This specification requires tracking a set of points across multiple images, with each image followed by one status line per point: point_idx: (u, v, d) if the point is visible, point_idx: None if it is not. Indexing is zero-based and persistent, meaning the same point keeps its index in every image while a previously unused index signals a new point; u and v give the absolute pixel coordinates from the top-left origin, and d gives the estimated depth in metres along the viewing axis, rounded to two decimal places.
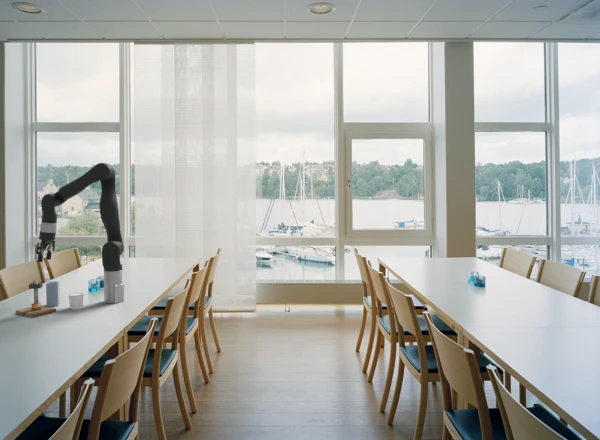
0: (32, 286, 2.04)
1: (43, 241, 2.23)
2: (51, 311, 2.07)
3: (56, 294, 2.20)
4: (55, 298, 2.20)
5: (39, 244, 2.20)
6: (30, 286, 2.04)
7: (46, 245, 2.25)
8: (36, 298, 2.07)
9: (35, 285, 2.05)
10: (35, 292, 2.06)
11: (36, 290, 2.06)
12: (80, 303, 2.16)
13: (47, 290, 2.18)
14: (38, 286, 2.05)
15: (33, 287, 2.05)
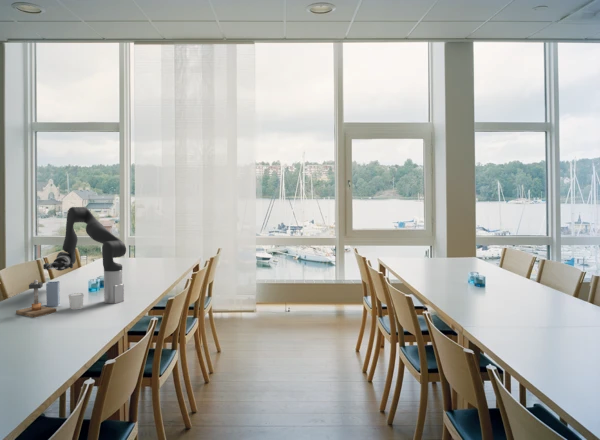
0: (32, 286, 2.04)
1: None
2: (51, 311, 2.07)
3: (56, 294, 2.20)
4: (55, 298, 2.20)
5: None
6: (30, 286, 2.04)
7: None
8: (36, 298, 2.07)
9: (35, 285, 2.05)
10: (35, 292, 2.06)
11: (36, 290, 2.06)
12: (80, 303, 2.16)
13: (47, 290, 2.18)
14: (38, 286, 2.05)
15: (33, 287, 2.05)
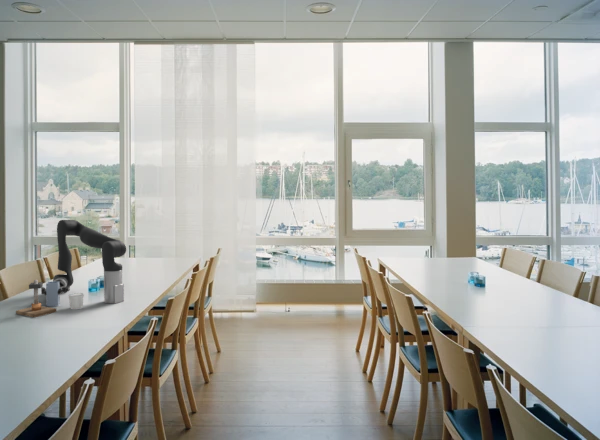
0: (32, 286, 2.04)
1: None
2: (51, 311, 2.07)
3: (56, 294, 2.20)
4: (55, 298, 2.20)
5: None
6: (30, 286, 2.04)
7: None
8: (36, 298, 2.07)
9: (35, 285, 2.05)
10: (35, 292, 2.06)
11: (36, 290, 2.06)
12: (80, 303, 2.16)
13: (47, 290, 2.18)
14: (38, 286, 2.05)
15: (33, 287, 2.05)
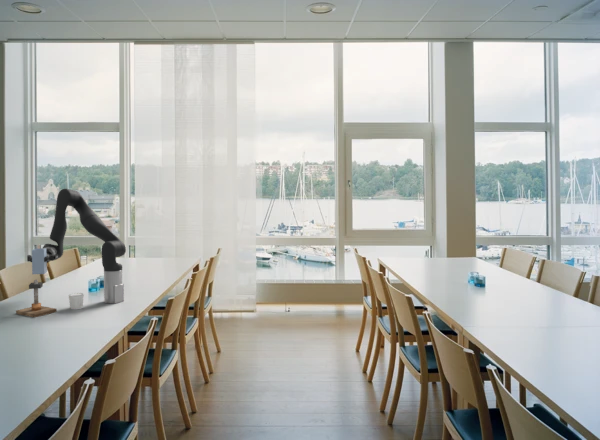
0: (32, 286, 2.04)
1: None
2: (51, 311, 2.07)
3: (42, 261, 2.08)
4: (41, 265, 2.08)
5: None
6: (30, 286, 2.04)
7: None
8: (36, 298, 2.07)
9: (35, 285, 2.05)
10: (35, 292, 2.06)
11: (36, 290, 2.06)
12: (80, 303, 2.16)
13: (33, 257, 2.07)
14: (38, 286, 2.05)
15: (33, 287, 2.05)
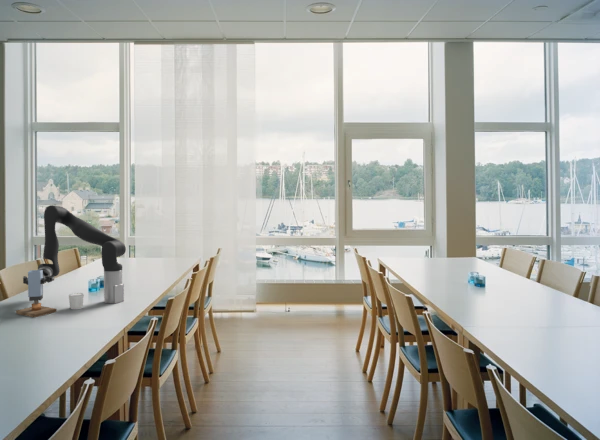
0: (32, 298, 2.05)
1: None
2: (51, 311, 2.07)
3: (39, 283, 2.05)
4: (38, 288, 2.05)
5: None
6: (30, 298, 2.04)
7: None
8: None
9: (36, 297, 2.05)
10: None
11: None
12: (80, 303, 2.16)
13: (29, 279, 2.04)
14: (38, 298, 2.06)
15: (34, 299, 2.05)
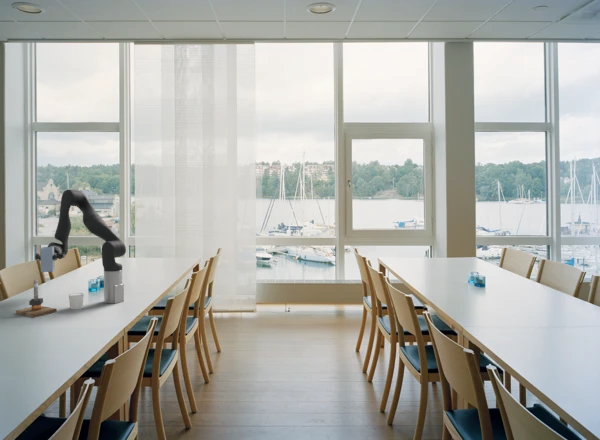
0: (32, 302, 2.05)
1: None
2: (51, 311, 2.07)
3: (51, 259, 2.14)
4: (50, 263, 2.14)
5: None
6: (30, 302, 2.04)
7: None
8: (36, 298, 2.07)
9: (36, 302, 2.05)
10: (35, 292, 2.06)
11: (36, 290, 2.06)
12: (80, 303, 2.16)
13: (42, 255, 2.13)
14: (38, 302, 2.06)
15: (34, 303, 2.05)
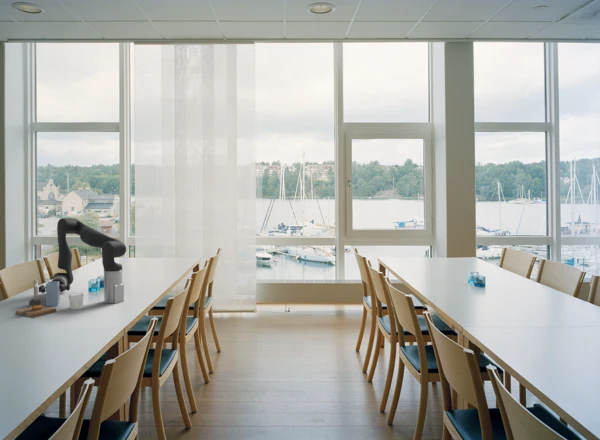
0: (32, 302, 2.05)
1: None
2: (51, 311, 2.07)
3: (56, 294, 2.20)
4: (55, 298, 2.20)
5: None
6: (30, 302, 2.04)
7: None
8: (36, 298, 2.07)
9: (36, 302, 2.05)
10: (35, 292, 2.06)
11: (36, 290, 2.06)
12: (80, 303, 2.16)
13: (47, 290, 2.18)
14: (38, 302, 2.06)
15: (34, 303, 2.05)
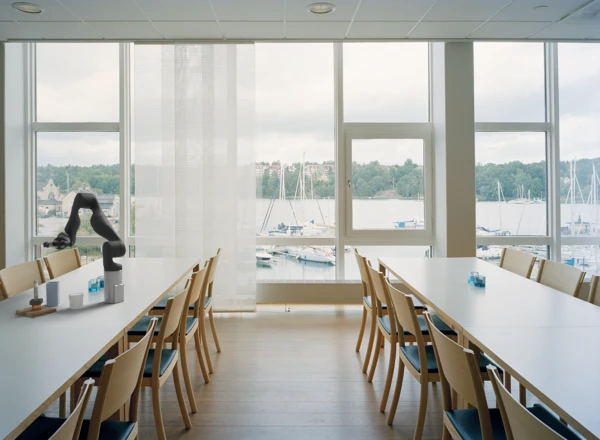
0: (32, 302, 2.05)
1: None
2: (51, 311, 2.07)
3: (56, 294, 2.20)
4: (55, 298, 2.20)
5: None
6: (30, 302, 2.04)
7: None
8: (36, 298, 2.07)
9: (36, 302, 2.05)
10: (35, 292, 2.06)
11: (36, 290, 2.06)
12: (80, 303, 2.16)
13: (47, 290, 2.18)
14: (38, 302, 2.06)
15: (34, 303, 2.05)
